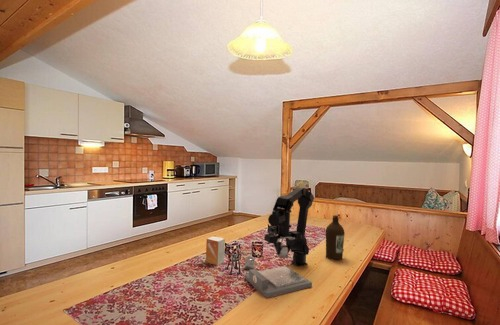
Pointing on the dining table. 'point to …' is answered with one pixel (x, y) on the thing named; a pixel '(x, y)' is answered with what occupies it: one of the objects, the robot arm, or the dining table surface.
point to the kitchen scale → (277, 281)
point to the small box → (215, 250)
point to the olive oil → (334, 240)
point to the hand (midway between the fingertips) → (282, 254)
